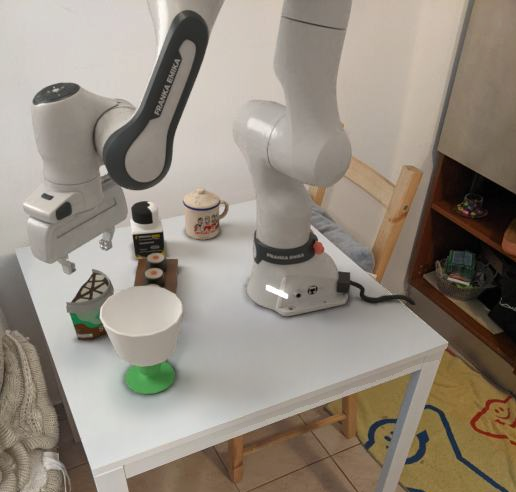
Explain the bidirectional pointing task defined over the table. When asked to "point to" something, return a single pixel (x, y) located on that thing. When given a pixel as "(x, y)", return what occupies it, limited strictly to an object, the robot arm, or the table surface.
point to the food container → (90, 306)
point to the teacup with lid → (203, 213)
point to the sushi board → (167, 274)
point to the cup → (144, 334)
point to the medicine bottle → (146, 229)
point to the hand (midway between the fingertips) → (88, 260)
